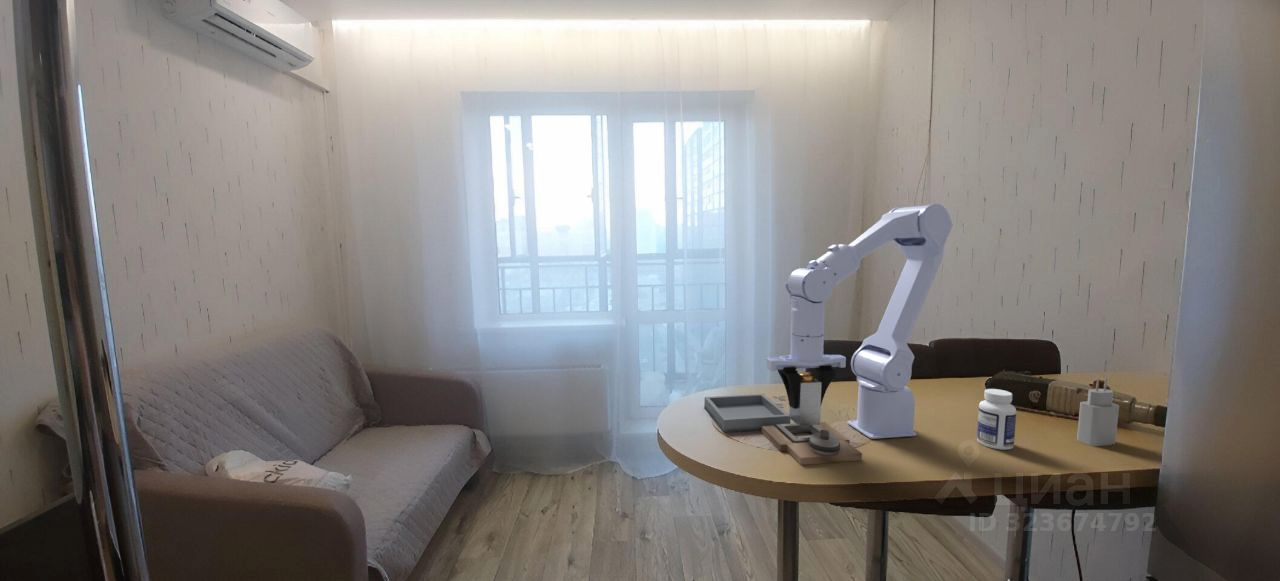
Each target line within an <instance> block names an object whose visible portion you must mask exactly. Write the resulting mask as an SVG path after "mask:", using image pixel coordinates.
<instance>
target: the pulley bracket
mask: <svg viewBox="0 0 1280 581" xmlns="http://www.w3.org/2000/svg"><path fill="white" fill-rule="evenodd" d="M760 432H761V433H762V434H763V436H765V437H766V439H767V440H768V441H770V442H771V444H772V445H773V446H775V447H776V449H778V450H779V451H780V452H787V453H788V454H789V455H790V456H791V457H792V458H793V460H795V461H796V462H797V463H798V464H799V465H814V464H815V465H816V464H826V463H840V462H852V461H853V462H854V461H862V460H863V452H861V451H860V450H859V449H857V448H856V447H855V446H853V445H851V444H850V442H851V440H850V439H849V438H848V437H846V436H845V435H844V434H842V433H841V432H840V431H838V430H837V429H835V428H834V427H833V426H831V425H830V424H829V423H827V422H825V421H823V422H821V421H820V425H809V426H799V425H797V424H796V423H795V422H794V423H790V424H778V425H776V428H775V427H774V426H773V425H772V426H761V430H760ZM797 433H798V434H800V433H811V434H810V436H809V437H797V436H795V435H794V434H797Z"/></svg>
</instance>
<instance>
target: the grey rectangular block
mask: <svg viewBox="0 0 1280 581" xmlns="http://www.w3.org/2000/svg"><path fill="white" fill-rule="evenodd" d="M798 374H800V375H802V378H801V381H800V386H799V397H798V408H797V409H794V408H792V407H791V406H790V405H789V415H790V416H789V418H790V421H791V420H792V421H793V422H794V423H796V424H797V425H799V426H809V425H820V422H821V408H822V404H821V382H820V381H818V380H817V379H815V378H814V376H815V375H814V374H813V373H811V372H809V371H808V372H807V371H800V372H799V371H798Z"/></svg>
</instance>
